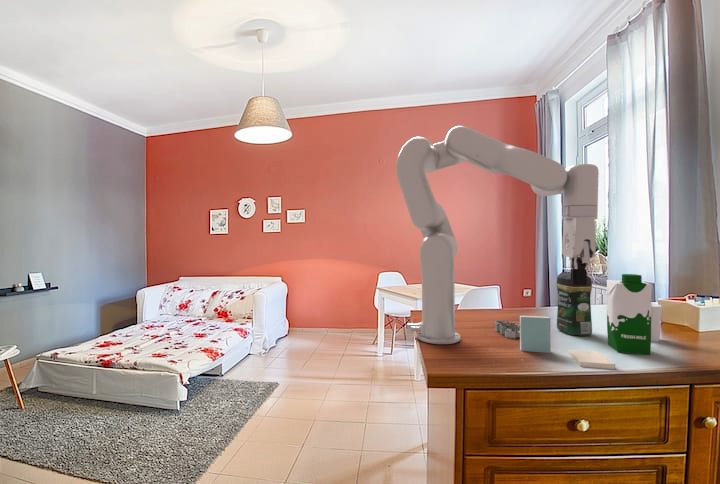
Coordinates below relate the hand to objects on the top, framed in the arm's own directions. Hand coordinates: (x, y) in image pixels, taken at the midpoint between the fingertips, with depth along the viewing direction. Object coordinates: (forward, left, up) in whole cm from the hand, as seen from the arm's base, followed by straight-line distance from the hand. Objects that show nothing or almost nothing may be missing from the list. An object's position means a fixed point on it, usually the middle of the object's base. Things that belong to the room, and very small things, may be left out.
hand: (578, 284), depth 89 cm
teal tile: (-11, -1, -18) cm, 21 cm away
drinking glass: (+23, +17, -18) cm, 34 cm away
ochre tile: (+1, -2, -17) cm, 18 cm away
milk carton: (+13, +5, -18) cm, 23 cm away
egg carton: (-14, +15, -18) cm, 27 cm away
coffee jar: (+5, +20, -18) cm, 28 cm away
